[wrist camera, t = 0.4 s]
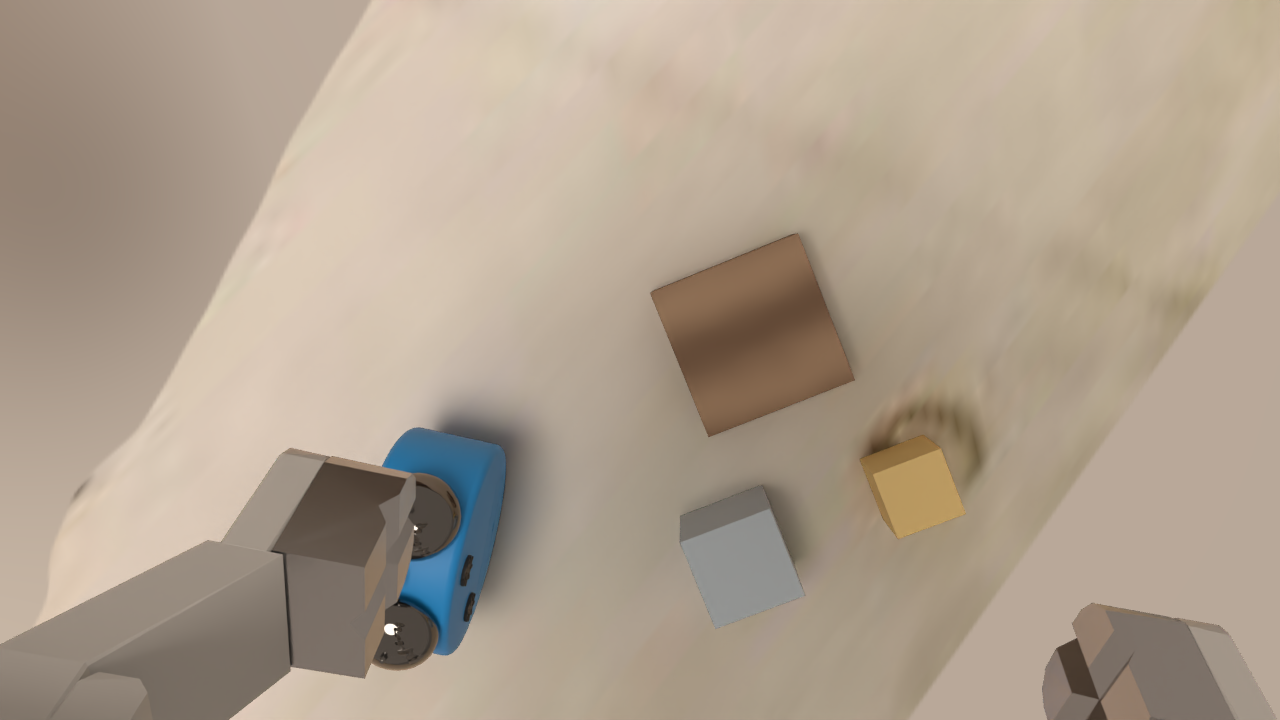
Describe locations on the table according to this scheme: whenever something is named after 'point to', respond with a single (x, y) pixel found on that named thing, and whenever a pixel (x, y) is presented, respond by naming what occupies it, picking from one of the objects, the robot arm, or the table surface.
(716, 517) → the slate cube
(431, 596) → the alarm clock
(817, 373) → the walnut base
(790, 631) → the table surface
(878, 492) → the mustard cube
